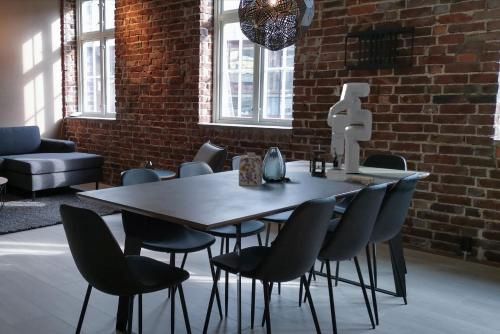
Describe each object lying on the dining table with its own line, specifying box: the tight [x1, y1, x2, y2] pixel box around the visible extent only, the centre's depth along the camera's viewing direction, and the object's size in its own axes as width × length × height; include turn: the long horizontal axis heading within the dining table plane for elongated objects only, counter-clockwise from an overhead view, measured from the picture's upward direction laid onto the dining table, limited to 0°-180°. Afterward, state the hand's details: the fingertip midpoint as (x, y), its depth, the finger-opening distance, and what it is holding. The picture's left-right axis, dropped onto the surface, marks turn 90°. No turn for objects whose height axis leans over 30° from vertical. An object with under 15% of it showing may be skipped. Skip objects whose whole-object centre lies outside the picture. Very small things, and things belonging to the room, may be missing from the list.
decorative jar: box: [238, 152, 264, 187], centre depth 286 cm, size 12×12×18 cm
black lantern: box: [309, 140, 327, 178], centre depth 317 cm, size 12×9×23 cm
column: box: [332, 154, 343, 170], centre depth 305 cm, size 5×5×15 cm
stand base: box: [323, 167, 347, 182], centre depth 305 cm, size 12×12×7 cm
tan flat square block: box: [346, 175, 375, 185], centre depth 298 cm, size 12×12×3 cm
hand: (337, 166), depth 305 cm, fingers closed on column, 4 cm apart
